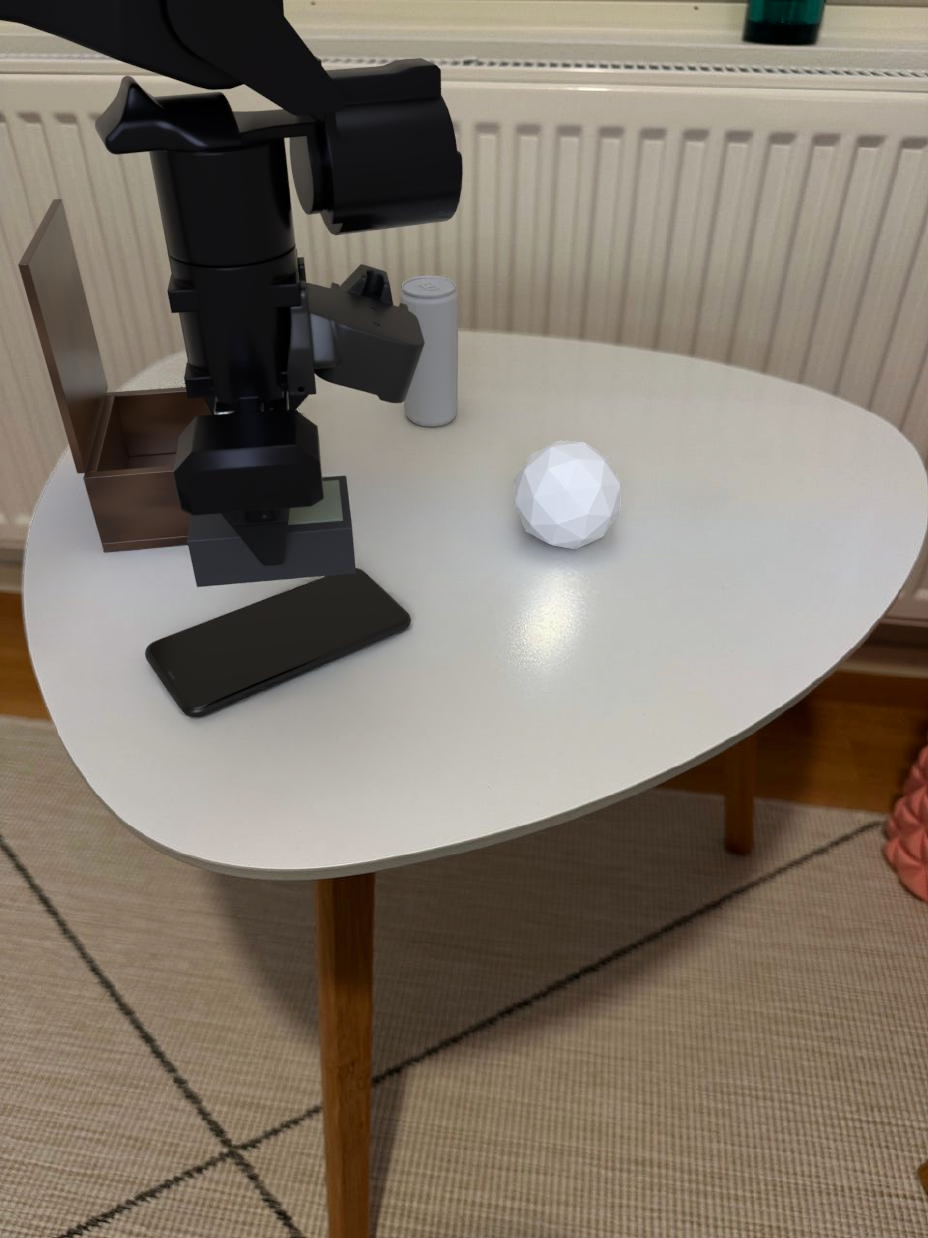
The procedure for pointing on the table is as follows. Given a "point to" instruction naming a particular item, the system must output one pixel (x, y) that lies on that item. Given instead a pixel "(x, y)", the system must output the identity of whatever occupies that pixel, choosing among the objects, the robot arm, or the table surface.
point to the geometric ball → (567, 494)
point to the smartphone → (274, 641)
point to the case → (139, 468)
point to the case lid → (65, 330)
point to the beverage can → (433, 350)
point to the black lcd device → (310, 548)
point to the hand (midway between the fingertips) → (273, 533)
